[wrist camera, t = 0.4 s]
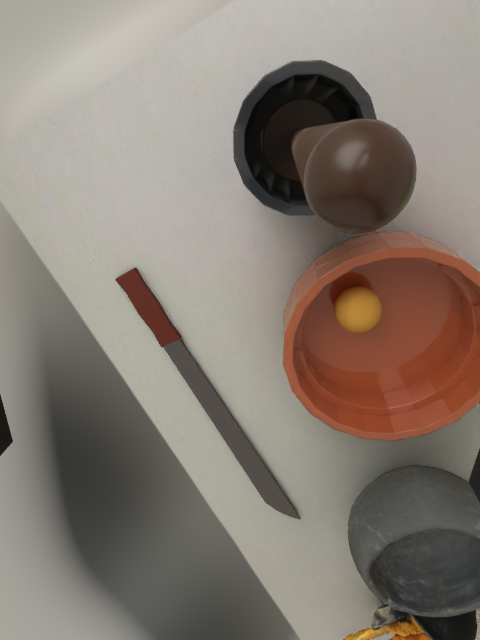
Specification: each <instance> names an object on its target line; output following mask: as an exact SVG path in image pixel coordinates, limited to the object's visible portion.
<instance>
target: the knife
mask: <svg viewBox="0 0 480 640" xmlns="http://www.w3.org/2000/svg"><path fill="white" fill-rule="evenodd" d="M115 280H116V281H117V282H118V284H119V285H120V286H121V287H122V289H123V290H124V291H125V292H126V293H127V295H128V297H129V299H130V300H131V302H132V304H133V305H134V307H135V309H136V310H137V312H138V314H139V315H140V316H141V317H142V319H143V320H144V321H145V323H146V324H147V325H148V326H149V328H150V329H151V330H152V331H153V333H154V335H155V337H156V338H157V340H158V342H159V344H160V346H161V347H164V348H165V350H166V352H167V353H168V355H169V356H170V358H171V359H172V361H173V362H174V364H175V365H176V367H177V368H178V370H179V371H180V373H181V374H182V376H183V377H184V379H185V380H186V382H187V383H188V385H189V387H190V388H191V390H192V391H193V393H194V394H195V396H196V397H197V399H198V400H199V402H200V403H201V405H202V406H203V408H204V409H205V411H206V412H207V414H208V415H209V417H210V419H211V420H212V422H213V423H214V425H215V426H216V428H217V429H218V431H219V432H220V434H221V435H222V437H223V438H224V440H225V441H226V443H227V444H228V446H229V447H230V449H231V451H232V452H233V454H234V455H235V457H236V458H237V460H238V461H239V463H240V464H241V466H242V467H243V469H244V470H245V472H246V473H247V475H248V476H249V478H250V479H251V481H252V483H253V484H254V486H255V487H256V489H257V490H258V492H259V493H260V495H261V496H262V498H263V499H264V501H265V502H266V503H267V504H269V505H270V506H271V507H273V508H274V509H276V510H278V511H280V512H282V513H284V514H286V515H289V516H291V517H294V518H297V519H300V516H299V515H298V513H297V512H296V510H295V509H294V507H293V506H292V504H291V503H290V501H289V500H288V499H287V497H286V496H285V494H284V493H283V491H282V490H281V488H280V487H279V485H278V484H277V482H276V481H275V479H274V478H273V476H272V475H271V473H270V472H269V470H268V469H267V467H266V466H265V464H264V463H263V461H262V460H261V459H260V457H259V456H258V454H257V453H256V451H255V450H254V448H253V447H252V445H251V444H250V442H249V441H248V439H247V438H246V436H245V435H244V433H243V432H242V430H241V429H240V427H239V426H238V424H237V423H236V422H235V420H234V419H233V417H232V416H231V414H230V413H229V411H228V410H227V408H226V407H225V405H224V404H223V402H222V401H221V399H220V398H219V396H218V395H217V393H216V392H215V390H214V389H213V387H212V386H211V384H210V383H209V382H208V380H207V379H206V377H205V376H204V374H203V373H202V371H201V370H200V368H199V367H198V365H197V364H196V362H195V361H194V359H193V358H192V356H191V355H190V353H189V352H188V350H187V349H186V347H185V346H184V345H183V343H182V342H181V340H180V338H181V335H180V334H179V333H178V331H177V330H176V329H175V327H174V326H173V325H172V323H171V322H170V321H169V319H168V317H167V315H166V314H165V312H164V310H163V309H162V307H161V305H160V303H159V302H158V300H157V299H156V298H155V296H154V295H153V293H152V292H151V291H150V289H149V288H148V287H147V285H146V284H145V283H144V281H143V279H142V277H141V275H140V274H139V272H138V270H137V268H134V269H132V270H130V271H129V272H127V273H125V274H123V275H121V276H120V277H118V278H116V279H115Z"/></svg>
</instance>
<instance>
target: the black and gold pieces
mask: <svg viewBox="0 0 480 640" xmlns="http://www.w3.org/2000/svg"><path fill="white" fill-rule="evenodd" d="M381 602H382V605H381V606H380V607H379V608H378V609H377V610H376V612H375V614H374V617H373V624H372V627H371V628H367V629H364V630H361V631H359V632H358V633H356V634H354V635H352V634H351V635H349V636H347V637H346V638H345V639H343V640H370V639H373V638H375V637H378V636H380V635H383V634H384V633H387V634H388V633H389V632H391V633H393V634H395V635H394V636H393V637H392V638H391V639H389V640H475V638H476V632H477V622H476V610H474V611H471V612H468V613H464V614H460V615H456V616H450V617H426V616H418V615H413V614H410V613H407V612H402V611H399V610H395V609H393V608H392V607H390V606H388V605H387V604H386V603H384V602H383V601H382V600H381Z"/></svg>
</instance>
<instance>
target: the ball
mask: <svg viewBox="0 0 480 640" xmlns="http://www.w3.org/2000/svg"><path fill="white" fill-rule="evenodd" d="M334 314H335V317H336V320H337V322H338V323H339V324H340V325H341V326H342V327H343V328H344V329H346V330H348V331H350V332H355V333H361V332H366V331H368V330H370V329H372V328H373V327H374V326H375V325H376V324H377V323H378V322H379V320H380V318H381V315H382V304H381V301H380V299H379V297H378V296H377V295H376V294H375V293H374V292H373V291H372V290H370V289H368V288H365V287H359V286H358V287H351V288H349V289H346V290H345V291H343V292H342V293H341V294H340V295H339V296H338V298H337V300H336V302H335V306H334Z"/></svg>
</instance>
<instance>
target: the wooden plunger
mask: <svg viewBox="0 0 480 640" xmlns="http://www.w3.org/2000/svg"><path fill="white" fill-rule="evenodd" d="M262 143H263V151H264V155H265V158H266V160H267V162H268V164H269V165H270V167H271V168H272V169H273V170H274V171H275V172H276V173H277V174H278V175H280V176H282V177H284V178H286V179H289V180H293V181H301V183H302V186H303V190H304V193H305V196H306V200H307V202H308V204H309V206H310V208H311V210H312V211H313V213H314V214H315V215H316V216H317V217H318V218H319V219H320V220H321V221H322V222H323V223H324V224H326V225H327V226H329V227H331V228H333V229H335V230H338V231H341V232H344V233H353V234H357V233H366V232H369V231H373V230H376V229H378V228H380V227H382V226H384V225H386V224H387V223H389V222H390V221H391V220H393V219H394V218H395V217H396V216H397V215H398V214H399V213H400V212H401V211H402V210H403V209H404V207H405V206H406V204H407V203H408V201H409V199H410V197H411V195H412V192H413V189H414V185H415V181H416V170H417V167H416V160H415V155H414V153H413V150H412V147H411V145H410V144H409V142H408V141H407V139H406V138H405V137H404V136H403V135H402V134H401V133H400V132H399V131H398V130H397V129H396V128H394V127H392V126H391V125H389V124H387V123H385V122H382V121H379V120H375V119H364V118H363V119H354V120H349V121H343V122H336V119H335V117H334V116H333V114H332V113H331V111H330V110H329V109H328V108H327V107H326V106H324V105H323V104H322V103H320V102H318V101H316V100H313V99H308V98H298V99H294V100H290V101H288V102H286V103H284V104H282V105H281V106H280V107H278V108H277V109H276V110H275V111H274V112H273V114H272V115H271V116H270V118H269V119H268V121H267V123H266V126H265V129H264V133H263V141H262Z"/></svg>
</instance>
